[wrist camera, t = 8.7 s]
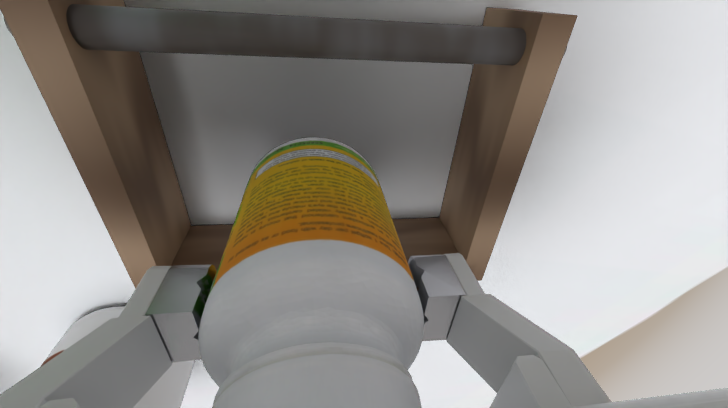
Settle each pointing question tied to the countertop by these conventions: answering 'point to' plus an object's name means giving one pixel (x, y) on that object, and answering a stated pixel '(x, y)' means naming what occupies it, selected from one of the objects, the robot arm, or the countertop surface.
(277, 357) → the supplement bottle
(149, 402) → the milk bottle
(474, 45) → the wooden bar rack
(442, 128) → the countertop surface
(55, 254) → the countertop surface
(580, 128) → the countertop surface
